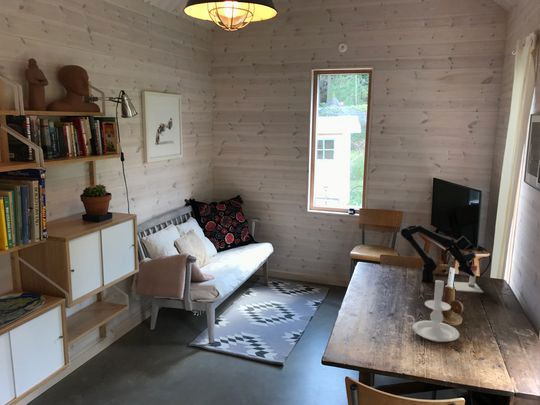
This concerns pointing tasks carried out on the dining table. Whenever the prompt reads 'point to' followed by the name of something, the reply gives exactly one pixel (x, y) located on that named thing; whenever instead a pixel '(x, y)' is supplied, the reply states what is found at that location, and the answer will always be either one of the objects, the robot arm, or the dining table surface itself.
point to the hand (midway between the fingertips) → (475, 274)
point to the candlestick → (435, 319)
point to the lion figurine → (441, 267)
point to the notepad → (466, 287)
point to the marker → (472, 279)
